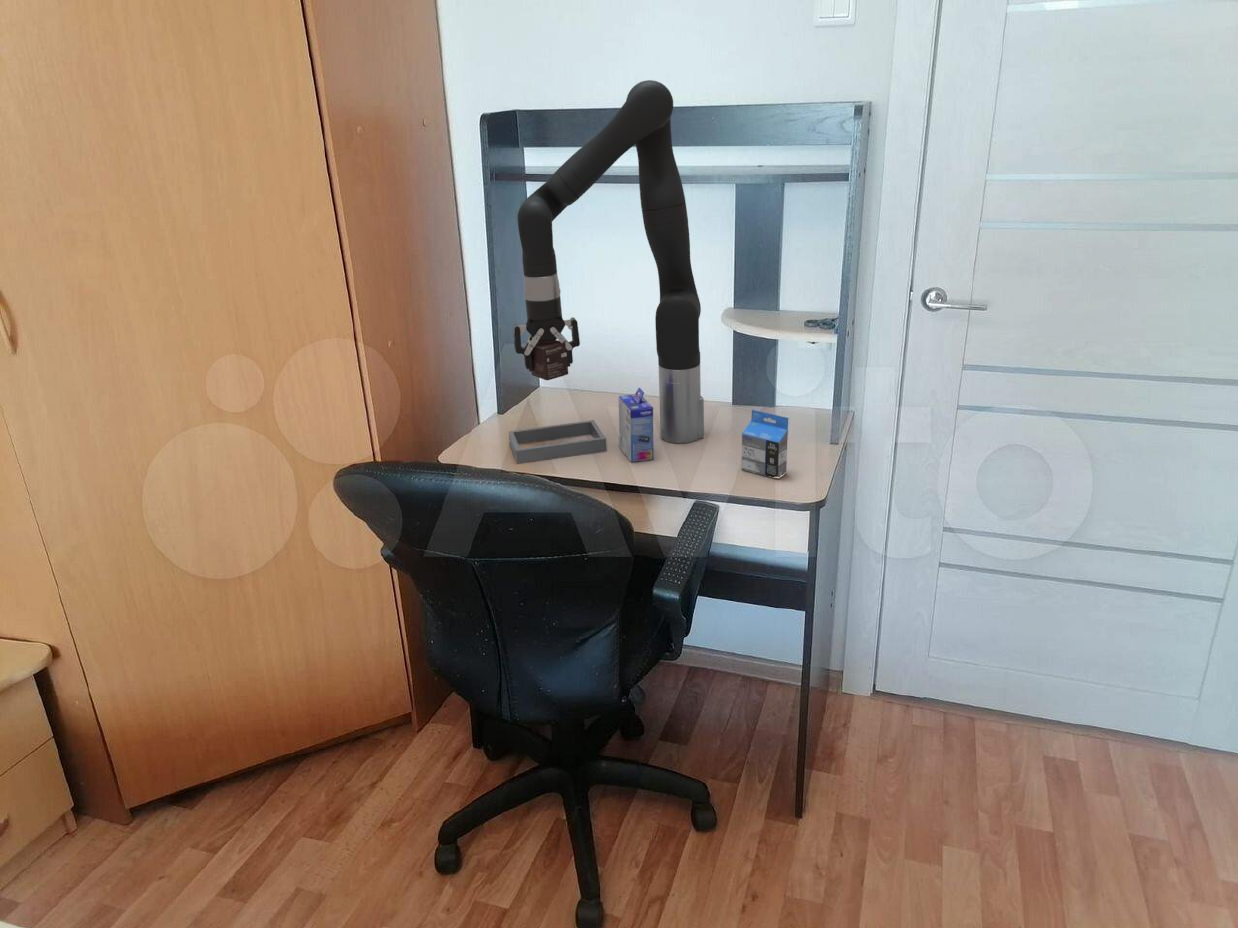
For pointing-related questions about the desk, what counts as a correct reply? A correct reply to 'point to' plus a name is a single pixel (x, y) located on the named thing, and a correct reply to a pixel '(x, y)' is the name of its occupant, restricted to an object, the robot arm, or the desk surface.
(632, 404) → the ink cartridge box
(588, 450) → the box
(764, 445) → the ink cartridge pack
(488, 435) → the desk surface
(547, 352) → the box
